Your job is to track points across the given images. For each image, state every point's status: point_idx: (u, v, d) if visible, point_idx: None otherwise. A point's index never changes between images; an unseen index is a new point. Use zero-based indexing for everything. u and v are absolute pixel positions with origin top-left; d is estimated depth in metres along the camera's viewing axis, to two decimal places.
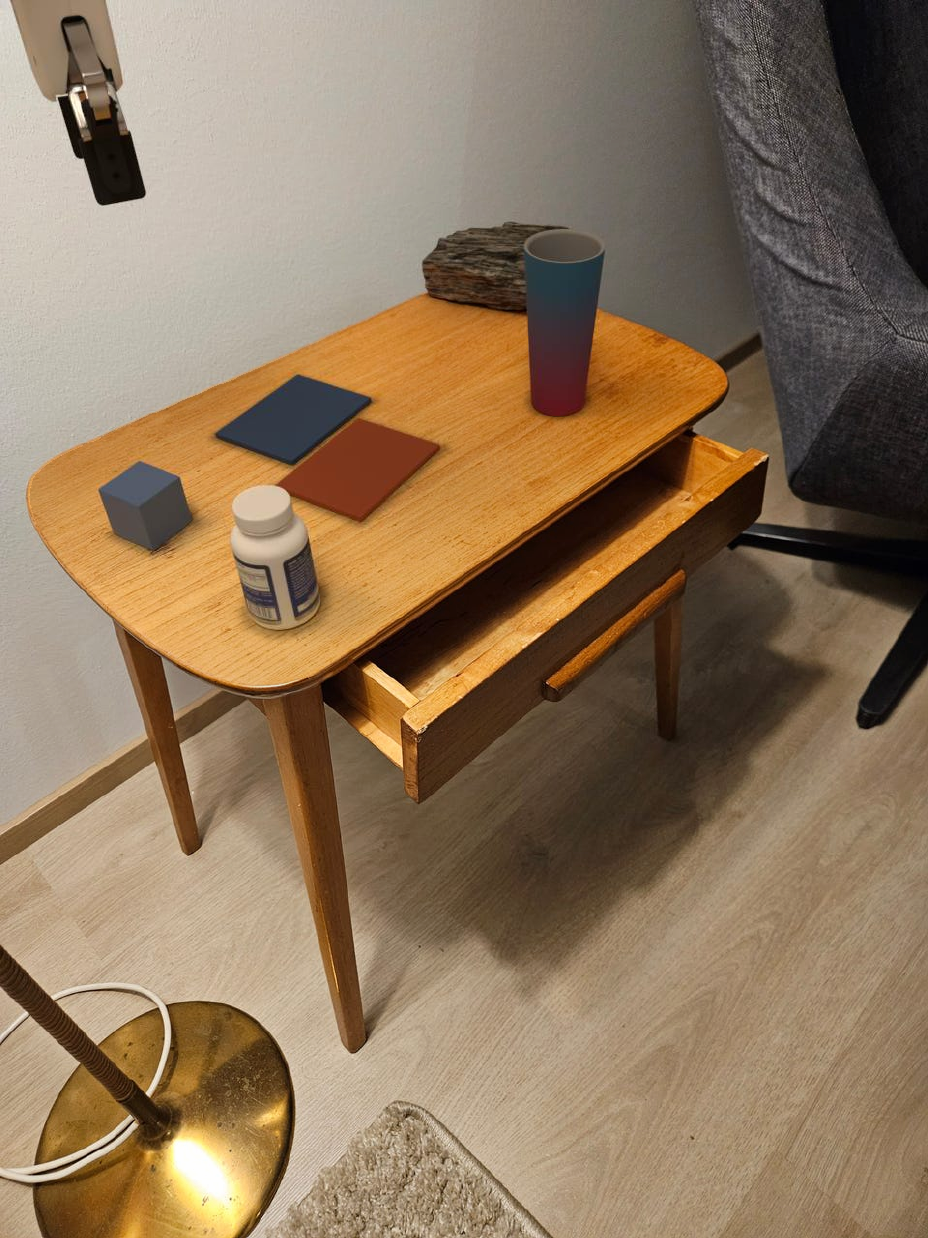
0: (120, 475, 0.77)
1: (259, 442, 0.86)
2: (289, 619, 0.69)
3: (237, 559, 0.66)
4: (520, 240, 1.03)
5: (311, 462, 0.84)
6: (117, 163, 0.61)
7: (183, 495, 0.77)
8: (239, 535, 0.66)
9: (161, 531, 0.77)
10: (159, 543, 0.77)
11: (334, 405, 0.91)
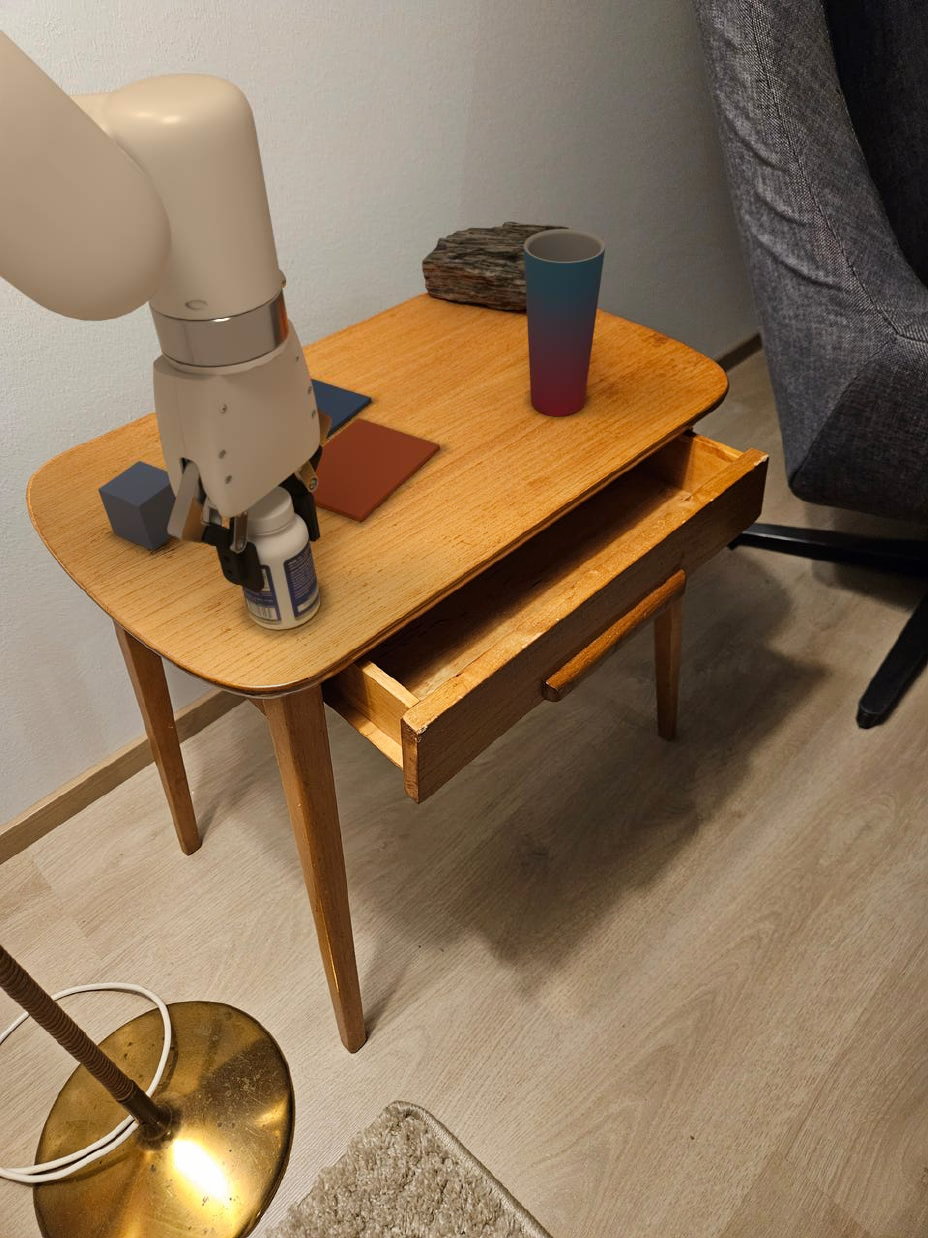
0: (120, 475, 0.77)
1: None
2: (289, 619, 0.69)
3: None
4: (520, 240, 1.03)
5: None
6: (231, 565, 0.64)
7: None
8: None
9: (161, 531, 0.77)
10: (159, 543, 0.77)
11: (334, 405, 0.91)
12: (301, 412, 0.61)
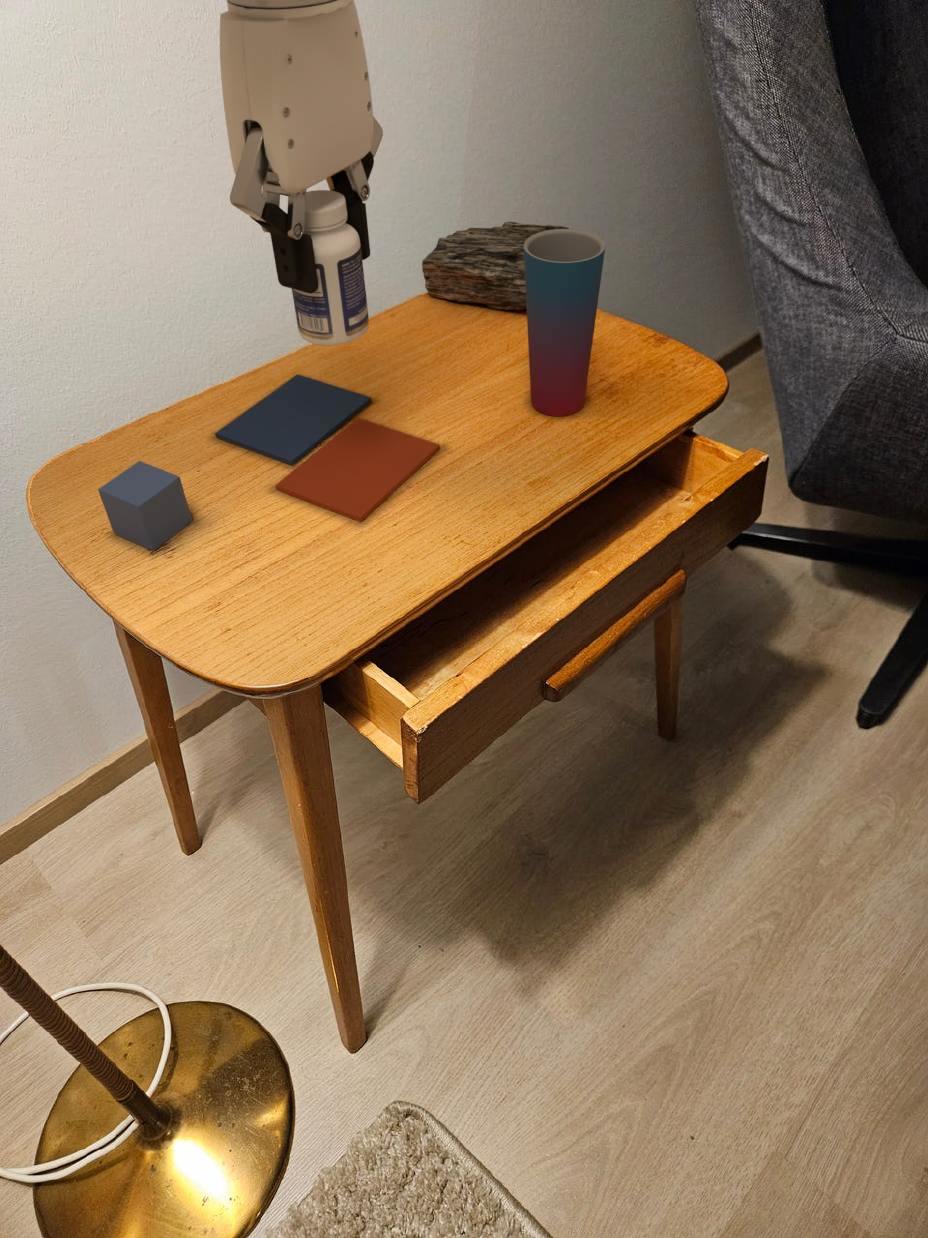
0: (120, 475, 0.77)
1: (259, 442, 0.86)
2: (340, 333, 0.71)
3: None
4: (520, 240, 1.03)
5: (311, 462, 0.84)
6: (287, 258, 0.66)
7: (183, 495, 0.77)
8: None
9: (161, 531, 0.77)
10: (159, 543, 0.77)
11: (334, 405, 0.91)
12: (358, 96, 0.63)
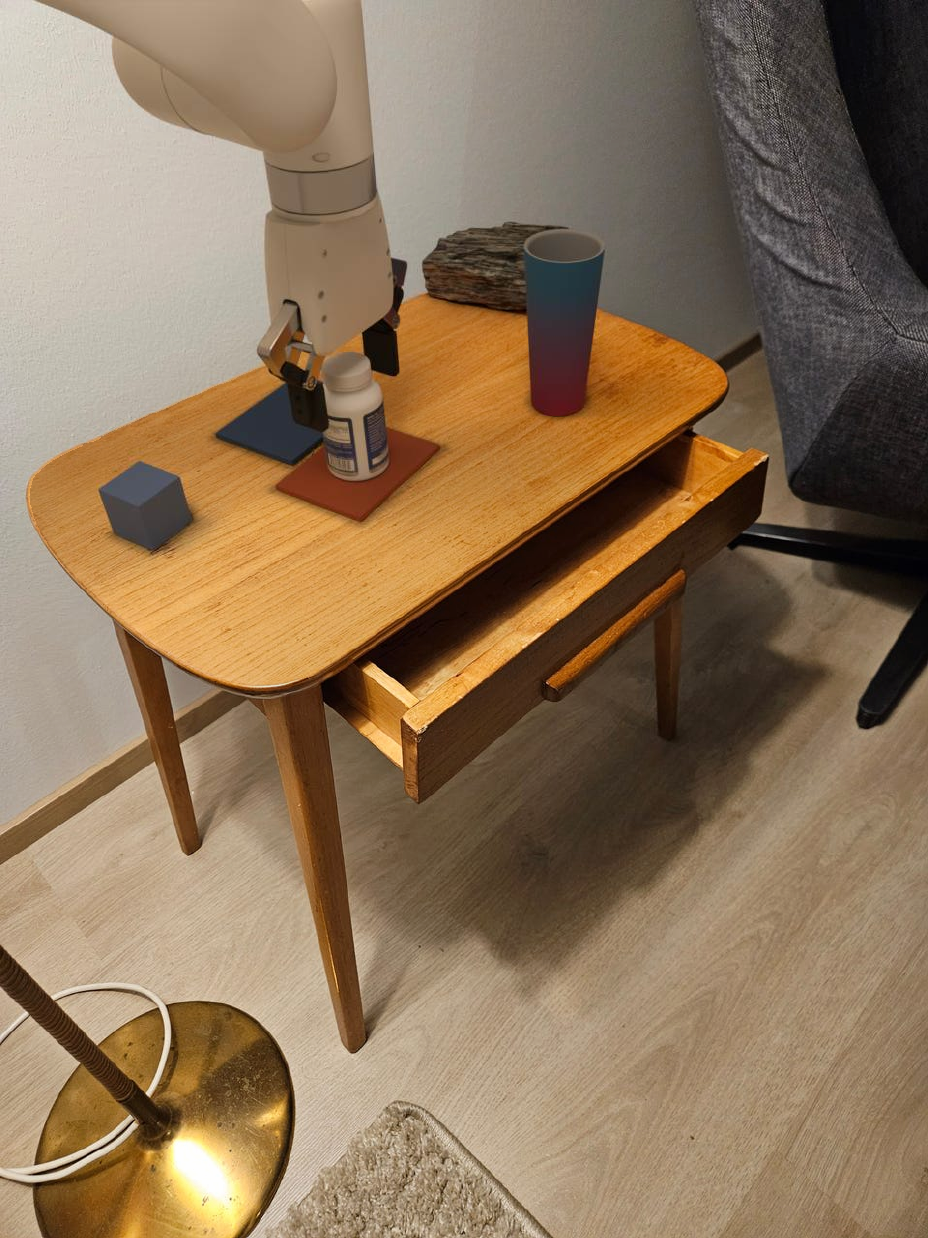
0: (120, 475, 0.77)
1: (259, 442, 0.86)
2: (364, 471, 0.81)
3: None
4: (520, 240, 1.03)
5: (311, 462, 0.84)
6: (301, 404, 0.73)
7: (183, 495, 0.77)
8: (325, 393, 0.78)
9: (161, 531, 0.77)
10: (159, 543, 0.77)
11: None
12: (381, 270, 0.73)
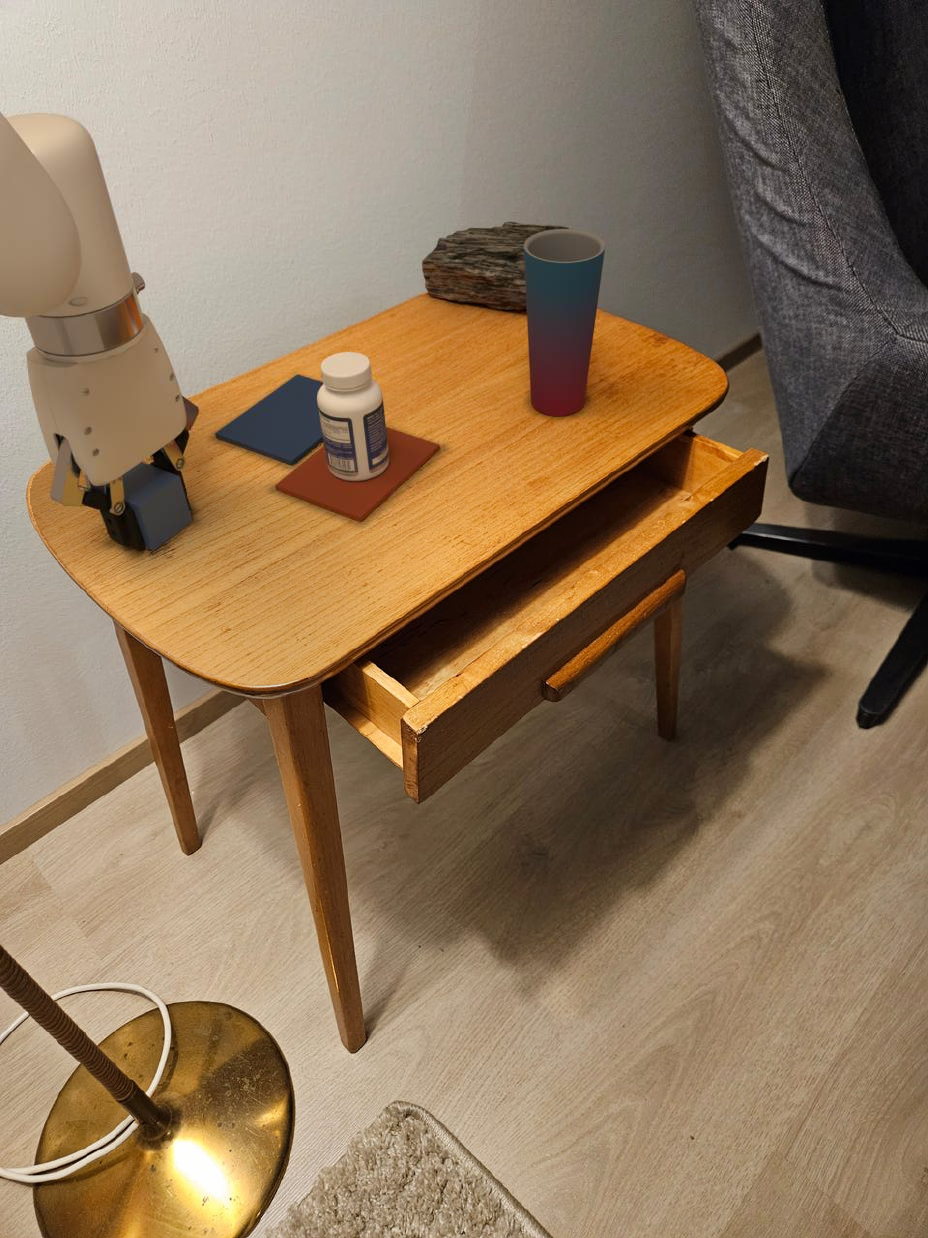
0: None
1: (259, 442, 0.86)
2: (364, 471, 0.81)
3: (324, 414, 0.78)
4: (520, 240, 1.03)
5: (311, 462, 0.84)
6: (113, 526, 0.75)
7: (183, 495, 0.77)
8: (325, 393, 0.78)
9: (161, 531, 0.77)
10: (159, 543, 0.77)
11: None
12: (164, 396, 0.72)
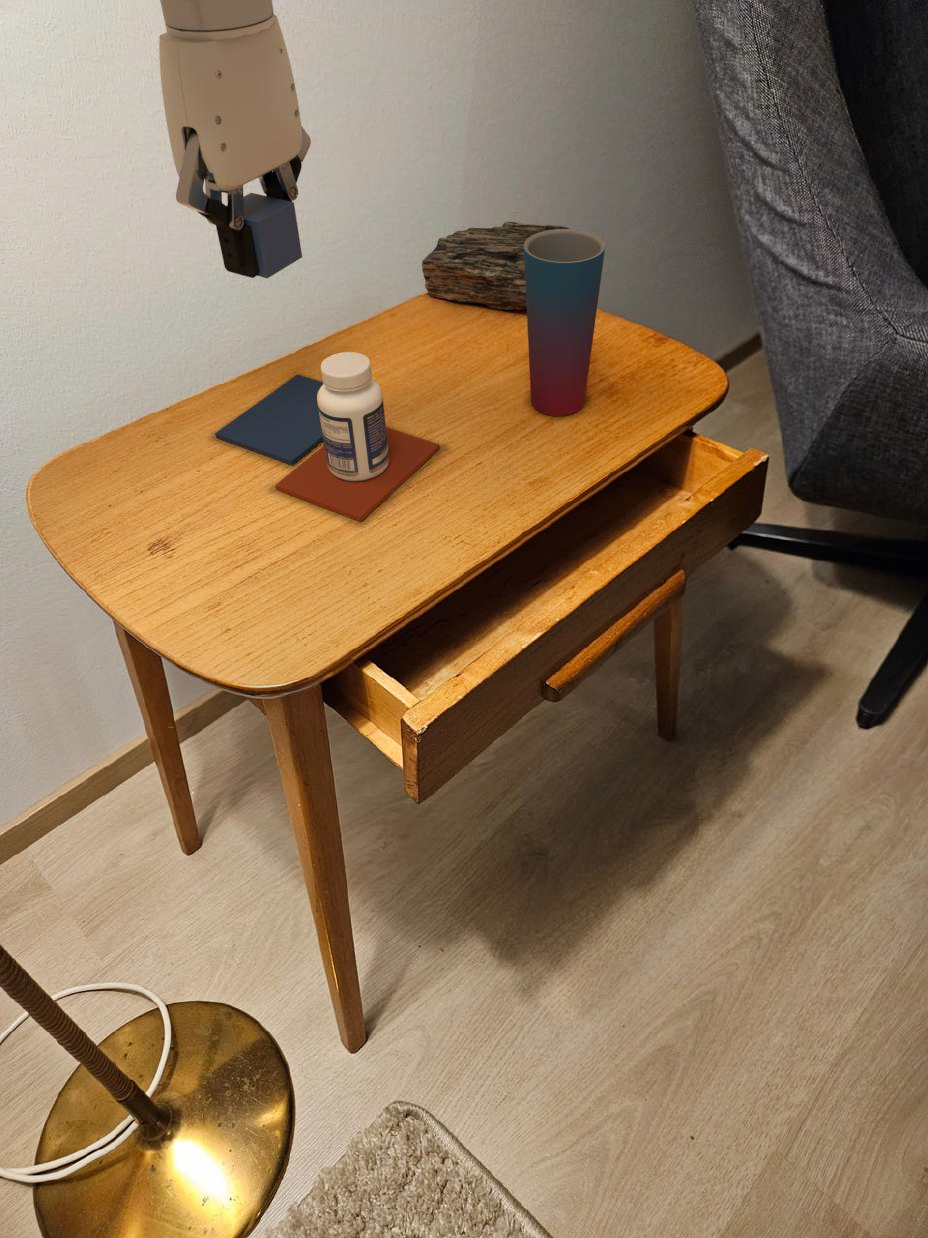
0: None
1: (259, 442, 0.86)
2: (364, 471, 0.81)
3: (324, 414, 0.78)
4: (520, 240, 1.03)
5: (311, 462, 0.84)
6: (230, 247, 0.75)
7: (296, 224, 0.78)
8: (325, 393, 0.78)
9: (275, 258, 0.77)
10: (273, 271, 0.77)
11: None
12: (285, 105, 0.72)
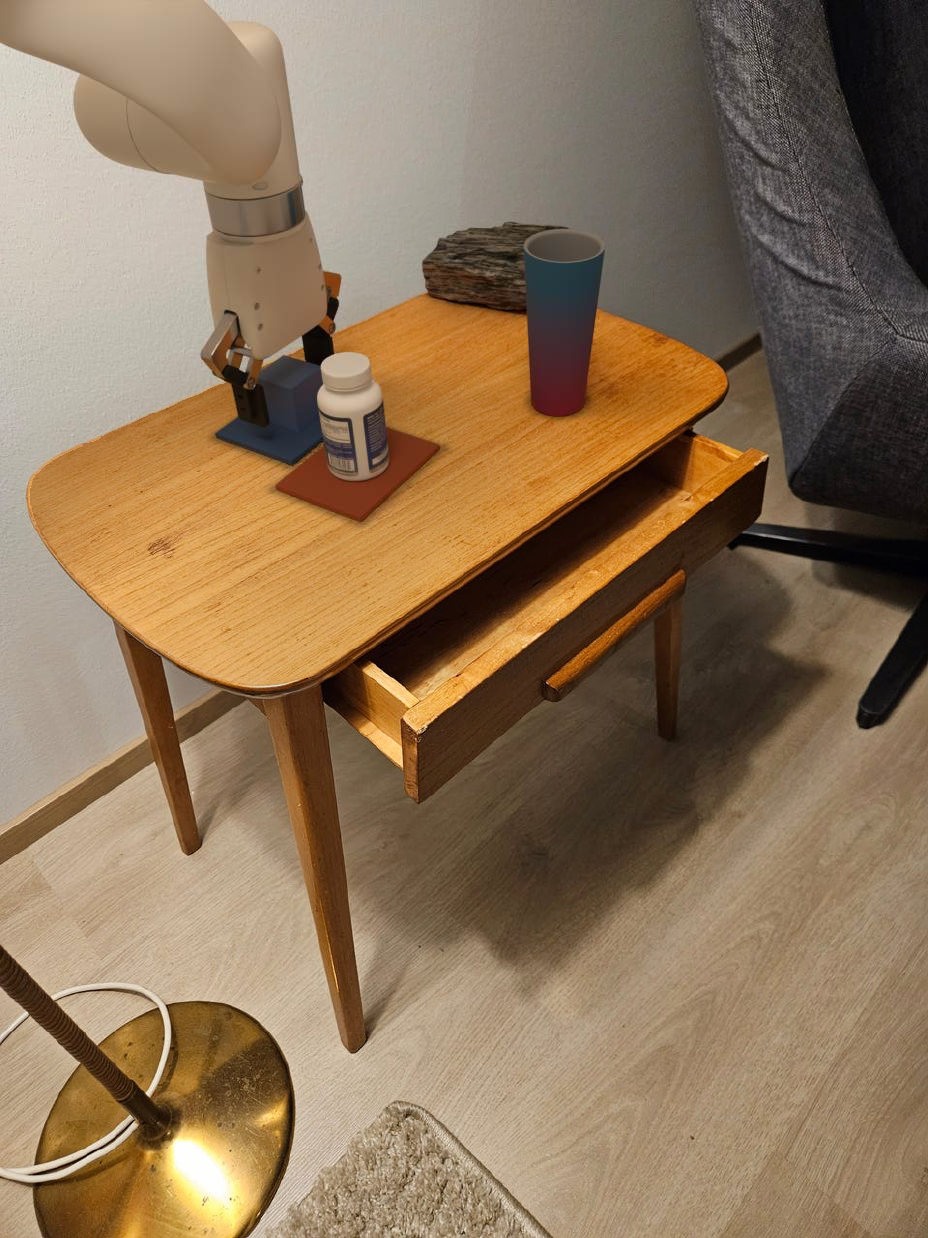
0: (269, 366, 0.87)
1: (259, 442, 0.86)
2: (364, 471, 0.81)
3: (324, 414, 0.78)
4: (520, 240, 1.03)
5: (311, 462, 0.84)
6: (244, 402, 0.83)
7: None
8: (325, 393, 0.78)
9: (305, 415, 0.87)
10: (303, 425, 0.88)
11: None
12: (313, 283, 0.82)
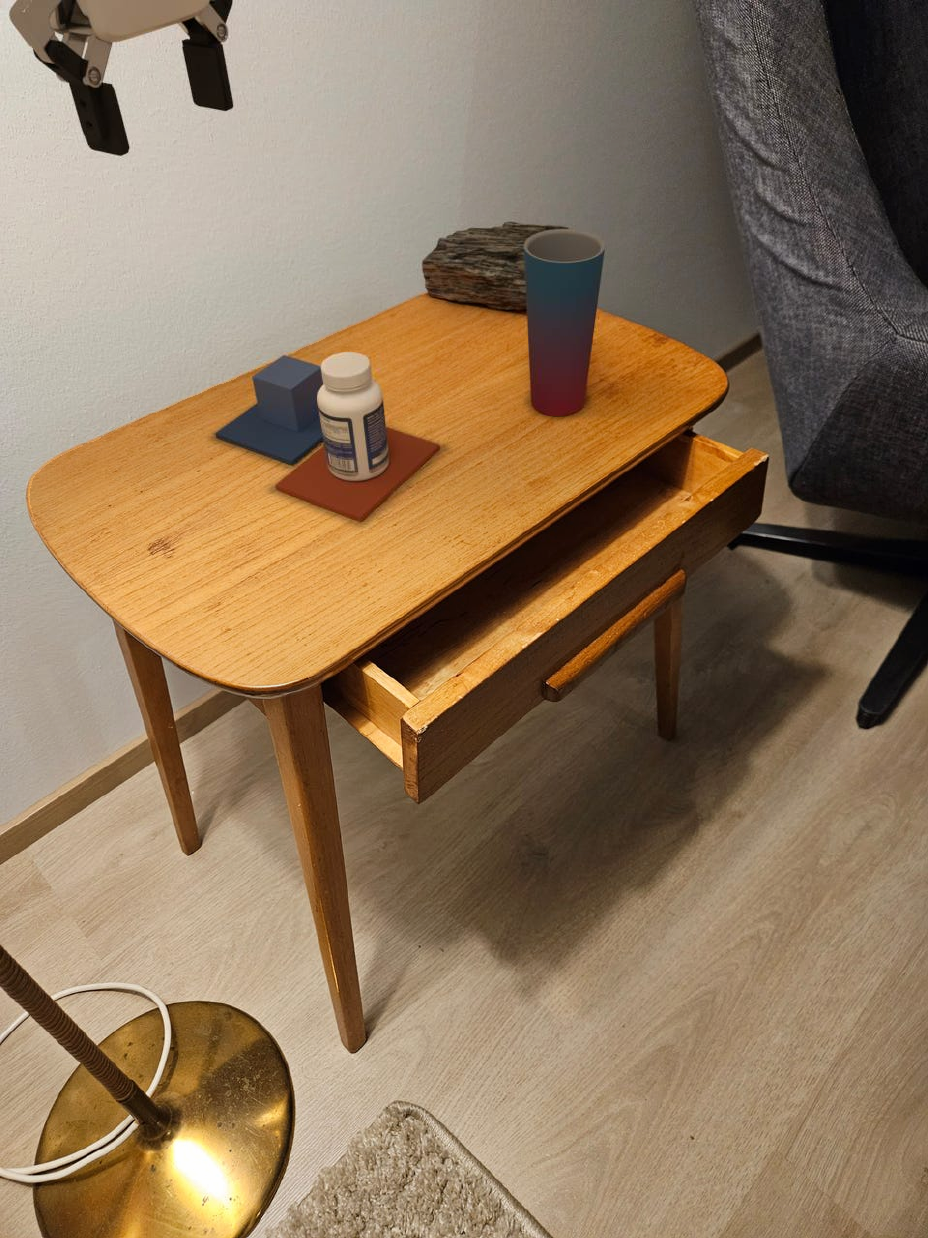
0: (269, 366, 0.87)
1: (259, 442, 0.86)
2: (364, 471, 0.81)
3: (324, 414, 0.78)
4: (520, 240, 1.03)
5: (311, 462, 0.84)
6: (88, 112, 0.58)
7: None
8: (325, 393, 0.78)
9: (305, 415, 0.87)
10: (303, 425, 0.88)
11: None
12: None
